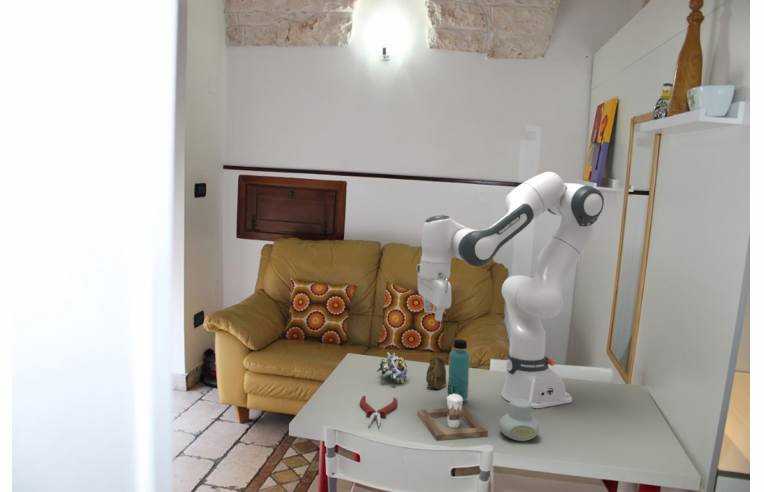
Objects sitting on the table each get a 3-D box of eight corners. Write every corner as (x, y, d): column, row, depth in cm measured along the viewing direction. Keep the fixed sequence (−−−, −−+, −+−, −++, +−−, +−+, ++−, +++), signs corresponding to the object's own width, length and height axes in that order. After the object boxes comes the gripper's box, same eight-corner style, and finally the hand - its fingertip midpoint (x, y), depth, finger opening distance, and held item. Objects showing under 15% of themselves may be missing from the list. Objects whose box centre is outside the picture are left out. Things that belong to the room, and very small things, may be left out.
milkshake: (442, 421, 179) (443, 388, 178) (460, 422, 179) (462, 389, 178) (443, 428, 175) (444, 394, 173) (462, 429, 175) (464, 395, 173)
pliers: (353, 429, 173) (353, 420, 173) (361, 401, 193) (361, 393, 193) (394, 432, 172) (394, 423, 172) (397, 404, 192) (397, 396, 192)
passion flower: (400, 398, 210) (400, 378, 202) (371, 387, 213) (370, 367, 205) (412, 372, 217) (413, 351, 209) (384, 362, 221) (383, 341, 212)
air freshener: (533, 430, 176) (536, 397, 175) (541, 443, 168) (544, 408, 166) (495, 429, 176) (498, 395, 174) (501, 442, 168) (504, 407, 166)
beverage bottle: (470, 400, 196) (473, 339, 193) (463, 407, 190) (467, 344, 187) (450, 396, 199) (454, 336, 196) (443, 403, 193) (447, 341, 190)
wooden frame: (464, 411, 187) (464, 406, 187) (487, 436, 171) (488, 431, 171) (417, 414, 184) (417, 409, 183) (436, 440, 167) (436, 435, 167)
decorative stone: (426, 356, 205) (434, 356, 203) (444, 356, 212) (452, 357, 209) (424, 388, 204) (433, 389, 202) (442, 387, 211) (450, 388, 208)
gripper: (458, 277, 173) (455, 325, 175) (434, 264, 192) (431, 307, 194) (436, 277, 171) (434, 326, 173) (414, 264, 191) (412, 308, 193)
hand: (432, 316), depth 184 cm, fingers open, 8 cm apart
